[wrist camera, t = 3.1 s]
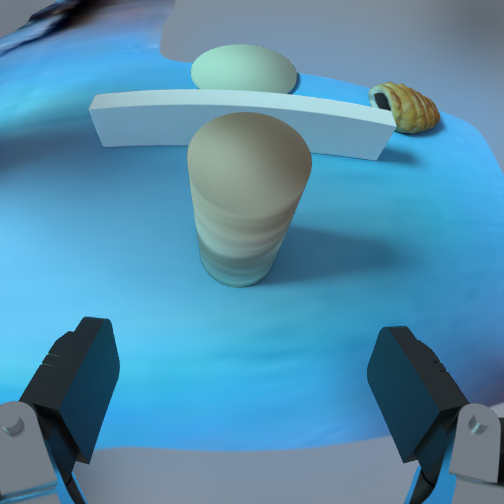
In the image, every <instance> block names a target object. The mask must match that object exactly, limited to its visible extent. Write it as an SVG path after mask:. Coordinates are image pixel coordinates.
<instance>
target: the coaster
mask: <svg viewBox="0 0 504 504" xmlns="http://www.w3.org/2000/svg"><path fill="white" fill-rule="evenodd" d="M191 78H192V81H193V83H194V84H195V86H196V87H197V88H198V89H213V90H240V91H256V92H269V93H280V94H288V93H289V92H291V91H292V89H293V88H294V86H295V84H296V81H297V72H296V69H295V67H294V66H293V65H292V63H291V62H290V61H289V60H288V59H286V58H285V57H284V56H282V55H281V54H279V53H277V52H275V51H272V50H270V49H267V48H263V47H259V46H253V45H227V46H222V47H218V48H215V49H212V50H209V51H207V52H205V53H204V54H202V55H201V56H199V57H198V58H197V59H196V60H195V62H194V63H193V65H192V67H191Z"/></svg>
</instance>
